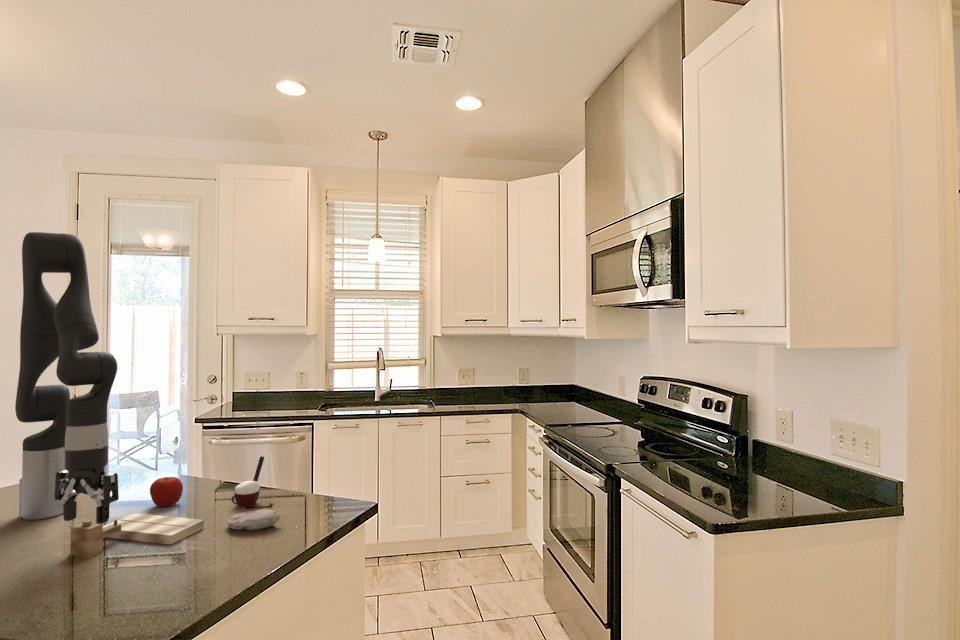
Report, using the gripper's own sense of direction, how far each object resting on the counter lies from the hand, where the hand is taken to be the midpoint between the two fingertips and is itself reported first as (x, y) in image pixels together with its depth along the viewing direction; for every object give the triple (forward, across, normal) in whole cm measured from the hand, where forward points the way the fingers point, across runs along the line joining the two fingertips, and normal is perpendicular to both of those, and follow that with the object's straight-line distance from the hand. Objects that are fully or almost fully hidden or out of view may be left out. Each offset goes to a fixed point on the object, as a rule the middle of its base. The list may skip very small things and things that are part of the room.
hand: (86, 521), depth 115 cm
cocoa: (+7, +12, +36) cm, 39 cm away
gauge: (+7, 0, +3) cm, 8 cm away
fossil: (+8, +24, +22) cm, 34 cm away
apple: (+7, -8, +30) cm, 32 cm away
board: (+7, +4, +13) cm, 15 cm away
